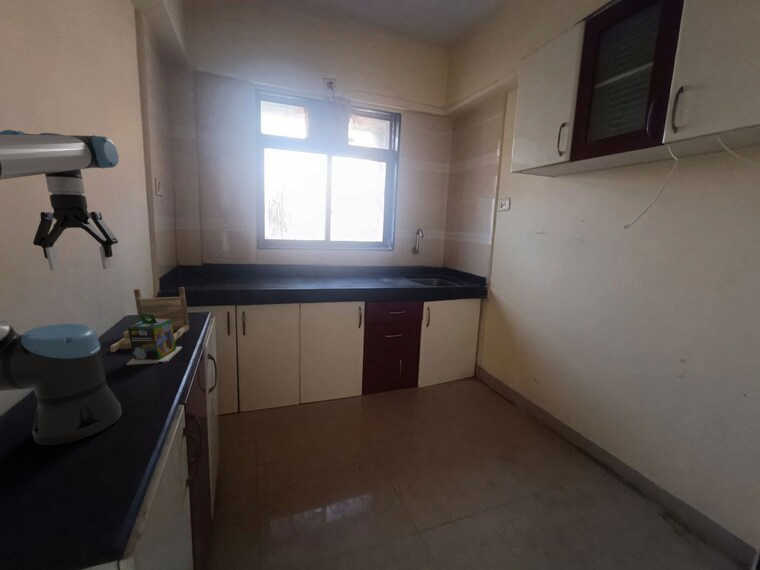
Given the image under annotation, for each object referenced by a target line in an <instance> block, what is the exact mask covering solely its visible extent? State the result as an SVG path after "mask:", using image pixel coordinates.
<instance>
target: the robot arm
mask: <svg viewBox="0 0 760 570" xmlns="http://www.w3.org/2000/svg"><path fill="white" fill-rule="evenodd" d="M118 163H119V153H118V148H117V147H116V144H115V143H114V142H113V141H112V140H111V139H110V138H109V137H106V136H102V135H100V136H99V135H93V134H92V135H74V134H73V135H71V134H70V135H67V134H60V133H54V132H53V133H52V132H41V133H38V134H37V133H33V134H32V133H25V132H23V131H20V130H13V129H6V130H5V129H4V130H1V131H0V181H1V180H2V181H3V180H9V179H16V178H17V179H18V178H24V177H31V176H32V177H33V176H39V175H44V176H45V179H46V180H45V181H46V187H47V191H48V192H49V193H51V194H50V195H49V200H50V206H51V208H52V209H53V212H50V211H40V213H39V214H40V221H39V225H38V227H37V230H36V234H35V235H34V238H33V242H32V244H33V245H34V246H39V247H41V248H42V251H43V255H44V258H45V259H46V260H47V261H48V265H49V266H48V267H49V270H50V271H52V272H53V271H58V270H61V269H62V268H61V264H60V260H59V254H58V250H57V246H54V245H55V243H56V242H57V240H58V239H60V236H61V235H62V234H63V232H64V231H65V230H66V229H79V228H80V229H82V230H84V231H85V232H86V233H88V234H89V235H90V236H91V237H92V238H94V239H95V240H96V241H97V242H98V243H99V244H100V245H101V246H99V252H100V258H101V265H102V269H103V270H108V269H112V268H113V267H112V261H111V258H112V257H113V249H112V246H113V245H116V244H118V243H119V240H118V239H117V237H116V236H115V234H114V233H113V231H112V230H111V229H110V228H109V226H108V225H107V224H106V222H105V220H103V216H102V214H101V213H102V212H100V211H91V212H89V211H88V202H87V197H86V196H85V195H84V194H85V186H84V181H83V176H82V171H81V170H85V169H108V168H109V169H111V168H115V167H116V166H117V165H118ZM89 219H90V220H92V222H93V223H94V224H95V226H96V228H95V226H94V225H93V223H91V222H90V221H89ZM54 220H56V221H55V223H54V224H53V221H54ZM52 224H53V226H52ZM51 227H52V229H51ZM101 347H102V345H101V343H100V341H99V338H98V334H97V332H96V330H95V329H94V328H92V327H91V326H88V325H85V324H81V323H57V324H47V325H42V326H38V327H33V328H31V329H29V330H27V331H25V332H24V333H23V334H19V333H17V332H16V330H15V329H14V328H13V326H11V325H10V323H9V322H8V321H6V320H5V319H0V392H2V391H3V392H5V391H16V390H18V391H19V390H27V389H28V390H30V389H32V390H34V394H35V397H36V401H37V407H36V413H35V416H34V421H33V425H32V432H31V433H32V436H33V437H32V438H33V441H34V443H35V442H36V443H38V444H41V445H57V444H64V443H69V442H73V441H77V440H80V439H83V438H85V437H88V436H91V435H93V434H95V433H97V434H99V433H101V432H102V431H101V430H103V431H105V430H107V429H108V428H110V427H112V424H113V425H114V424H115V423H116V422H118V420H120V418H121V416H122V414H123V413H122V410H123V409H122V406H121V403H120V401H119V400H118V399H117V397H116V396H115V394H114V393H113V391H112V389H110V387H109V386H108V383H107V378H106V373H105V367H104V361H103V358H102V357H103V356H102V351H101ZM109 426H110V427H109ZM107 427H108V428H107ZM106 428H107V429H106ZM104 429H105V430H104ZM100 431H101V432H100ZM98 432H99V433H98ZM95 435H96V434H95ZM93 436H94V435H93ZM91 437H92V436H91ZM88 438H89V437H88ZM83 440H84V439H83ZM80 441H81V440H80ZM77 442H78V441H77ZM36 443H35V444H36ZM73 443H74V442H73ZM38 444H37V445H38ZM69 444H70V443H69ZM41 445H40V446H41Z"/></svg>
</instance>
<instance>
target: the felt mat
mask: <svg viewBox="0 0 760 570" xmlns="http://www.w3.org/2000/svg"><path fill="white" fill-rule="evenodd" d="M182 348H183V346H176V349H175V350H173V351H172V352H170V353H169V354H167V355H165V356H164V357H162V358H161V359H159V360H149V359H134V358H132V359H130V360H129V361H127V362H126V366H135V365H136V366H137V365H145V364H147V365H148V364H159V362H162V363H168V362H169V361H170V360H171V359H172V358H173V357H174V356H176V354H178V353H179V351H181V350H182ZM167 361H168V362H167Z"/></svg>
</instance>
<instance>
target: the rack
mask: <svg viewBox="0 0 760 570" xmlns="http://www.w3.org/2000/svg"><path fill="white" fill-rule="evenodd" d="M133 293H134V300H135V305H136V310H137V312H136V313H137V317H138V322H142V319H141V317H140V314H153V315H154V317H155V319H171V321H172V327H173V331H175V332H173V333H174V338H175V342H176V341H177V340H178V339H179V338H181V336H182V334H183V333H184V332H185V333H186V332H188V330H189V329H190V321H189V320H190V319H189V313H188V305H187V299H186V291H185V287H184V286H183V287H182V286H181V287H178V293H179V296H169V297H145V298H142V294H141V289H140V288H136V289H133ZM145 319H146V320H147V319H151V318H150V317H145ZM185 333H184V334H185ZM184 334H183V335H184ZM122 342H124V337H123V338H122V339H120V340H118V341H117V342H115V343H113V344H111V345H110V346H109V349H110V353H114V352H116V351H118V350H120V349H121V348H120V344H121V343H122Z"/></svg>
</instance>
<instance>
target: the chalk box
mask: <svg viewBox="0 0 760 570" xmlns="http://www.w3.org/2000/svg"><path fill="white" fill-rule="evenodd" d="M140 317H141V319H142V322H139V321H138V322H136V323H135V324H132V325H130V326H128V327H127V330H128V332H129V337H130V343H131V347H132V349H131V352H132V357H133V358H134V359H149V360H159V359H161V358H162V357H164V356H165V355H167V354H169V353H170V352H172V351H173V350H175V349H176V347H177V345H176V341H175V338H174V333H175V332H174V330H173V327H172V321H171V319H155V317H154V315H153V314H140ZM145 317H150V318H151V319H147V320H146V319H145ZM133 358H132V359H133Z"/></svg>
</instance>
